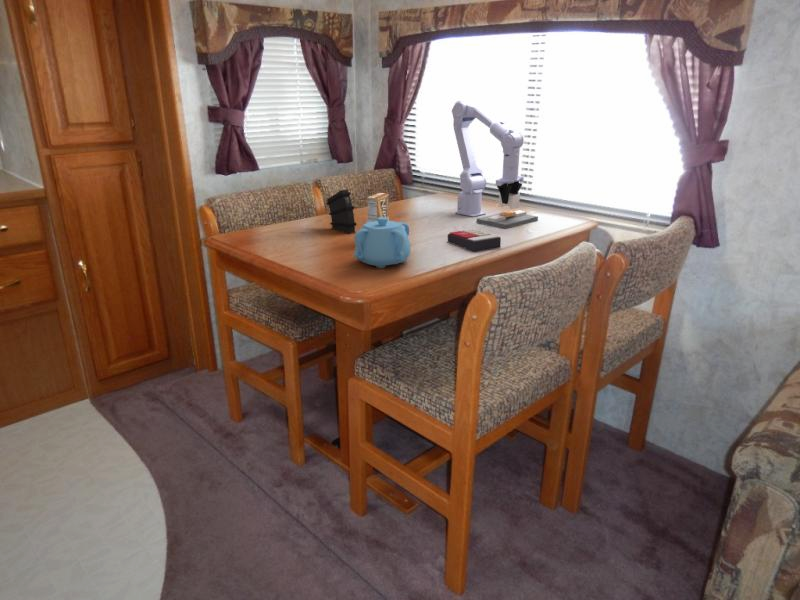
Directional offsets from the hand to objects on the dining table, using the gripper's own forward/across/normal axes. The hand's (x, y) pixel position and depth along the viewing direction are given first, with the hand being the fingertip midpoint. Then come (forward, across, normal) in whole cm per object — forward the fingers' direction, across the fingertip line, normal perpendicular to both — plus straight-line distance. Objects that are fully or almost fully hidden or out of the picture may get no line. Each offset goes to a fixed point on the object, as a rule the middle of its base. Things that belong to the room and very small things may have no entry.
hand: (508, 202), depth 217 cm
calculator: (+8, -35, -13) cm, 38 cm away
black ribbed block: (+8, -55, +33) cm, 65 cm away
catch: (+5, 0, 0) cm, 5 cm away
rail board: (+7, 0, 0) cm, 7 cm away
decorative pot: (+8, -70, -8) cm, 71 cm away
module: (+2, 0, 0) cm, 2 cm away
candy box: (+8, -54, +13) cm, 56 cm away
